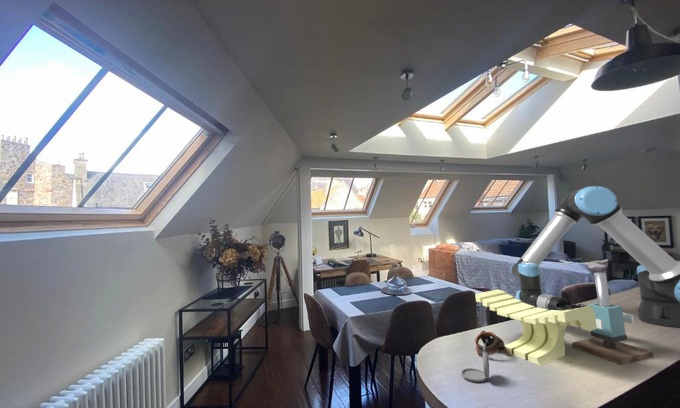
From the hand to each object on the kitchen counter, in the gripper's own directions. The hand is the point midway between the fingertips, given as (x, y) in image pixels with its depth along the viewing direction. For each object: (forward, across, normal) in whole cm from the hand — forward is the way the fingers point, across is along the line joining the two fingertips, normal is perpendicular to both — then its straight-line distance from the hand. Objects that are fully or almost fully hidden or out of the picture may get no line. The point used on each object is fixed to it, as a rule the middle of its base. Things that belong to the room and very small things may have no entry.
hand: (617, 322), depth 92 cm
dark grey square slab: (-3, 0, -6) cm, 7 cm away
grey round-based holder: (-4, +51, -11) cm, 52 cm away
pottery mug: (-16, +36, -11) cm, 41 cm away
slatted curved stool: (-12, +22, -11) cm, 27 cm away
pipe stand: (-3, 0, -10) cm, 11 cm away
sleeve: (-3, 0, -5) cm, 6 cm away
